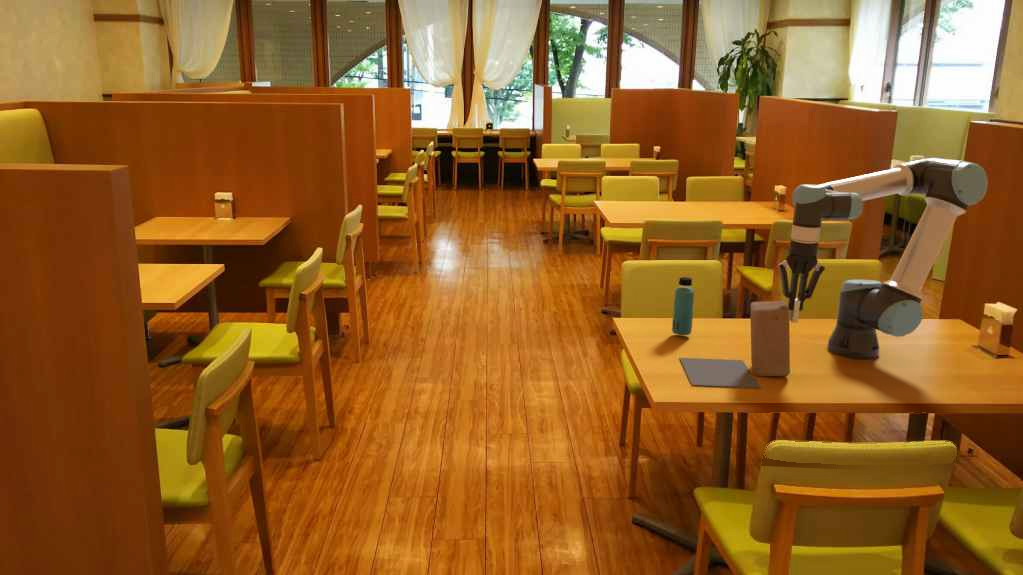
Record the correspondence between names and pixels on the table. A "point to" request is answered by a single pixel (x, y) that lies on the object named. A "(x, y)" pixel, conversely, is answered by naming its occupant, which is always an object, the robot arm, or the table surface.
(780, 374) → the wooden block
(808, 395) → the table surface
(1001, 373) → the table surface
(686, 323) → the beverage bottle
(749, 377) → the mat
